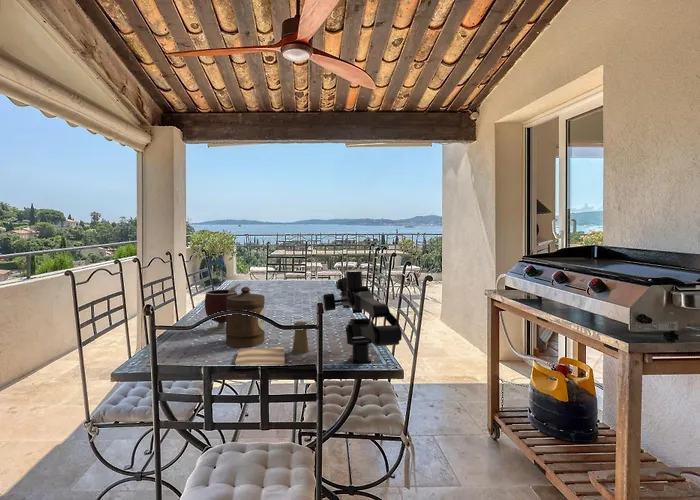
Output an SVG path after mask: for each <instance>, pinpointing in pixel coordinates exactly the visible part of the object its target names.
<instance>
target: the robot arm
mask: <svg viewBox="0 0 700 500" xmlns="http://www.w3.org/2000/svg"><path fill="white" fill-rule="evenodd" d="M362 272H363V271H345V277H342V278H339V279H337V281H335V287H336V290H339V291H340V292H339V294H340V298H339V299H335V294H334V293H326V294H323V295H322V304H323V310H324V311H326V312H329V311H335V310H336V307H338V306H342V308H343V309H351V308H352V309H351V311H352V312H351V313H352V314H362V313H363V311H364V312H366V313H367V314H369V316H370V318H368V317H367V318H366V317H365V318H350V319H349V321H348V323H347V324H346V326H345V335H346V344H347V345H350V346H351V347H352V349H351V351H352V353H351V354H352V355H350V356H349V359H350V361H351V362H352V364H364V363H365V364H368V363H372V359H371V358H370V345H371V344H373V345H374V346H375V347H385V346H399V344H400V341H402V338H403V336H402V330H401V326H400V323H399V320H398V319H397V318H396V316H394V315H393V314H392V312H391V310H390V308H389V307H390V306H389V305H388V304H385V303H383V302H380V301H379V300H377V299H375V298H373V294H372V292H371V289H369V286H368V285H364V286H363V273H362ZM376 318H384V319H385V320H386V321H387V323H389V324H388V325H374V320H375V319H376Z"/></svg>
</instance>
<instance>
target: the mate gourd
mask: <svg viewBox="0 0 700 500" xmlns="http://www.w3.org/2000/svg"><path fill="white" fill-rule="evenodd" d="M240 286H241V283H238V284H235V285H234V286H232V287H231V288H229V289H227V288H226V289H213V290H212V289H211V290H208V291H206V292H205V297H204V310H205V314H206V316H207V317H208V316H209V315H212V314H214V313H217V312H221V311H226V308H227V306H226V300H227V297H228V296H231V295H237V294H238V292H237V290H236V289H237V288H238V287H240ZM211 321H213V322H215V323H218V324H217V326H212V327H209V328H207V329H206V331H207V333H208V334H210V333H211V335H226V316H221V317H217V318H214V319H212V320H211Z"/></svg>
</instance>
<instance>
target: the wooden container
mask: <svg viewBox="0 0 700 500" xmlns="http://www.w3.org/2000/svg"><path fill="white" fill-rule="evenodd" d="M250 291H251V288H250V287H248V286H243V287H242V288H241V289H240V292H241V293H239V294H238V293H237V295H231V296H228V297H227V300H226V306H227V308H226V311H227V310H247V311H252V312H256V313H258V314H261V315H263V316H264V317H265V303H266V302H265V298H266V297H265V295H262V294H257V293H251V292H250ZM265 323H266V321H265V322H264V321H262V320H260V319H258V318H256V317H253V316H248V315H242V314H232V315H226V322H225V324H226V334H225V343H226V345H227V346H230V347H232V348H233V347H234V348H250V347H252V348H253V347H257V346H259V345H262V344H263V343H265V335H266V334H265V329H266V328H265V327H266V326H265Z"/></svg>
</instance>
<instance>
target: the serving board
mask: <svg viewBox="0 0 700 500" xmlns="http://www.w3.org/2000/svg"><path fill="white" fill-rule="evenodd" d="M285 359H286V358H285V347H284V346H281V347H280V346H279V347H278V346H277V347H254V348H253V347H252V348H250V347H248V348H239V349H238V352H237V356H236V358H235V361H234V364H242V365H243V364H245V365H285V364H286V363H285V361H286V360H285ZM285 366H286V365H285Z"/></svg>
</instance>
